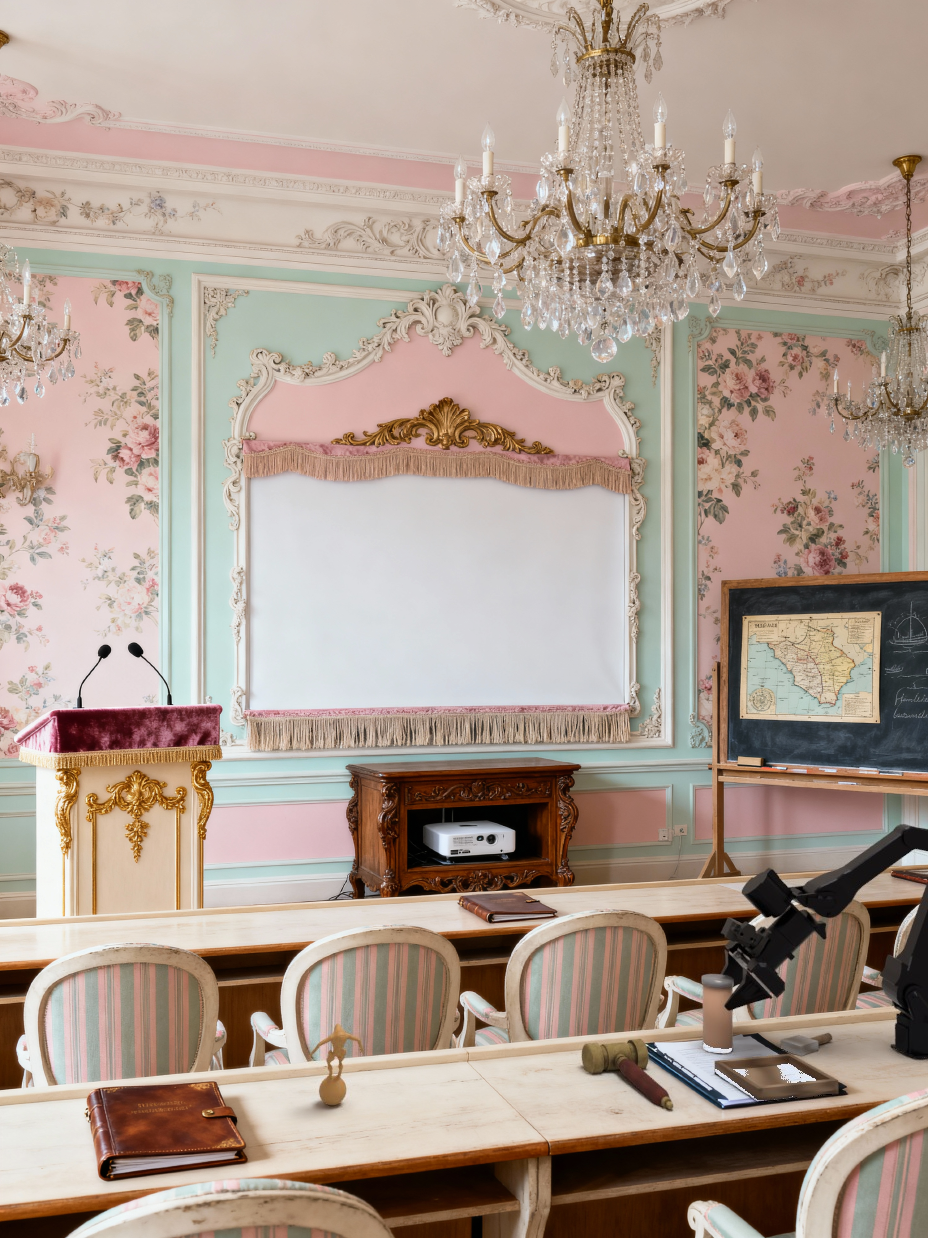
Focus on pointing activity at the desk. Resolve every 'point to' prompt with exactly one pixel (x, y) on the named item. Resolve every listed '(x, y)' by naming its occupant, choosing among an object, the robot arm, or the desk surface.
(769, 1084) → the walnut tray
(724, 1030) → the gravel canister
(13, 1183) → the desk surface
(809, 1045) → the mallet
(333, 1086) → the figurine
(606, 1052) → the gavel
